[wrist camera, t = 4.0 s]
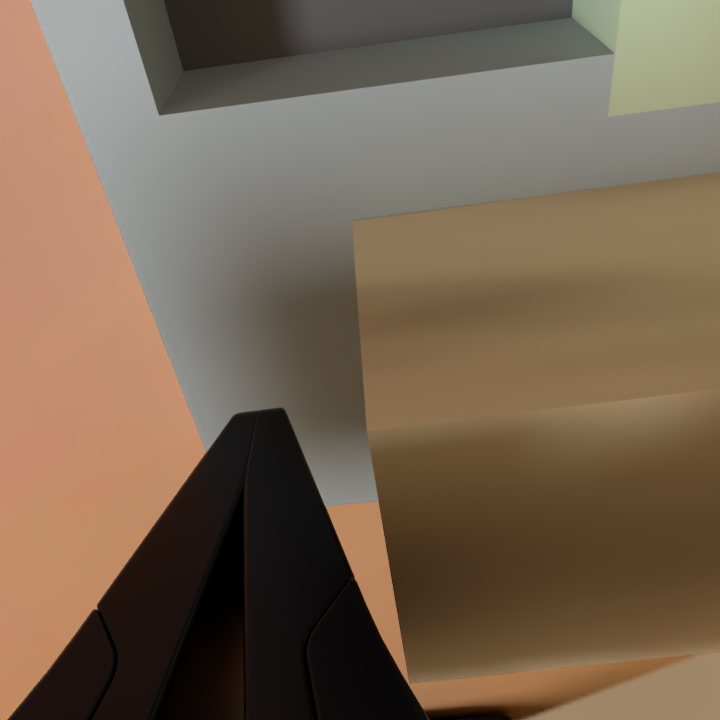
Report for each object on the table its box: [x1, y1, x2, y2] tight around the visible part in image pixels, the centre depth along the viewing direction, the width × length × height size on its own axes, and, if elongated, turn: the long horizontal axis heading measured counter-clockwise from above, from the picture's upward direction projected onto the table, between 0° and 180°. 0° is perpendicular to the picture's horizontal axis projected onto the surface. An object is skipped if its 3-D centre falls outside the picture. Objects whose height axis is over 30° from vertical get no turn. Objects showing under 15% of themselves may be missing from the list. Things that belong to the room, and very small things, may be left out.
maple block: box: [352, 172, 720, 684], centre depth 9 cm, size 5×5×4 cm
